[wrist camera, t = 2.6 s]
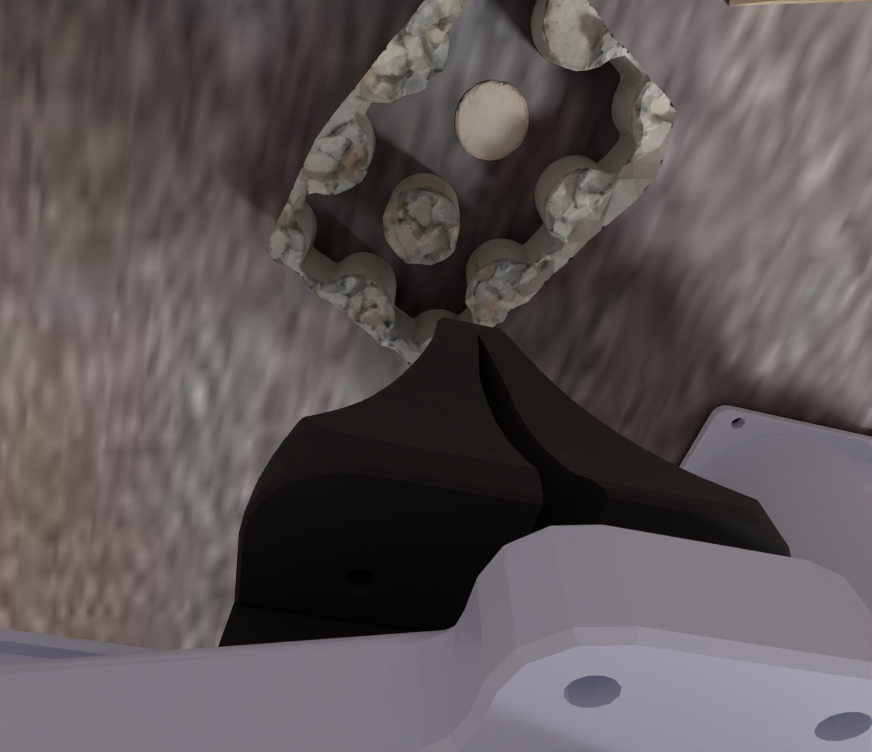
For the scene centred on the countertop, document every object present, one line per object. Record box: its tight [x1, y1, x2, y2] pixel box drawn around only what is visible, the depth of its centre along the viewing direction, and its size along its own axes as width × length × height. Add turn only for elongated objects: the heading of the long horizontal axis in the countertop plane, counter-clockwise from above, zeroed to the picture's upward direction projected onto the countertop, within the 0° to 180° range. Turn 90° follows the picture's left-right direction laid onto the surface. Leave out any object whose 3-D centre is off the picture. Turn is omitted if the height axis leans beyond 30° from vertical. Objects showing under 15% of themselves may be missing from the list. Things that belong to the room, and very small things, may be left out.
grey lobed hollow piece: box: [267, 0, 676, 365], centre depth 16 cm, size 11×8×4 cm
